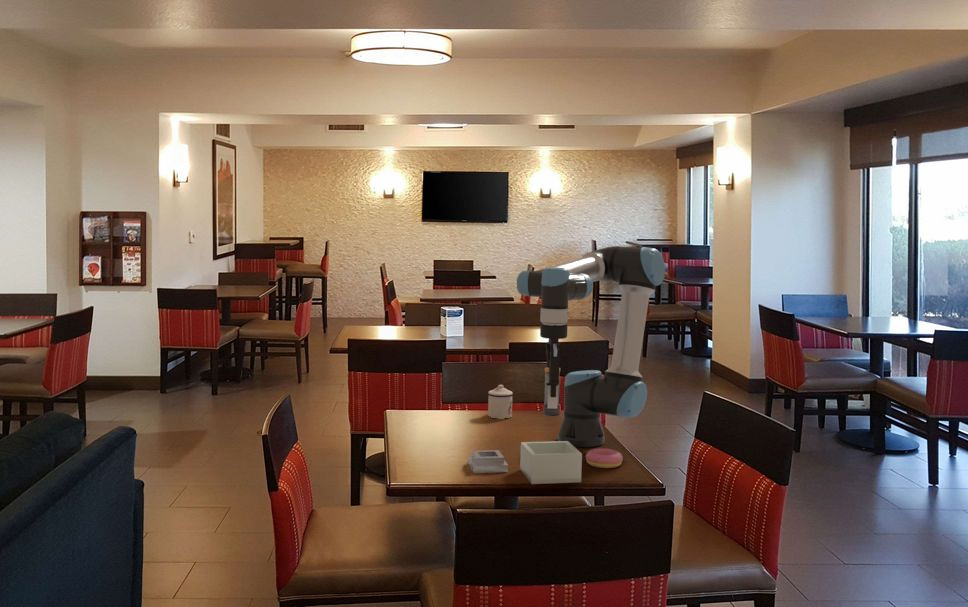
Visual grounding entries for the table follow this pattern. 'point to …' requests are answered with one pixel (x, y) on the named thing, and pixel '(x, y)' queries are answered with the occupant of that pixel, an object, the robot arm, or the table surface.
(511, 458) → the table surface
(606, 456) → the doughnut
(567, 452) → the bin
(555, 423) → the table surface
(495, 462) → the grey square socket base
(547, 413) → the gold topped grey cylinder
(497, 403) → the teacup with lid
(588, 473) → the table surface
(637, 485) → the table surface
